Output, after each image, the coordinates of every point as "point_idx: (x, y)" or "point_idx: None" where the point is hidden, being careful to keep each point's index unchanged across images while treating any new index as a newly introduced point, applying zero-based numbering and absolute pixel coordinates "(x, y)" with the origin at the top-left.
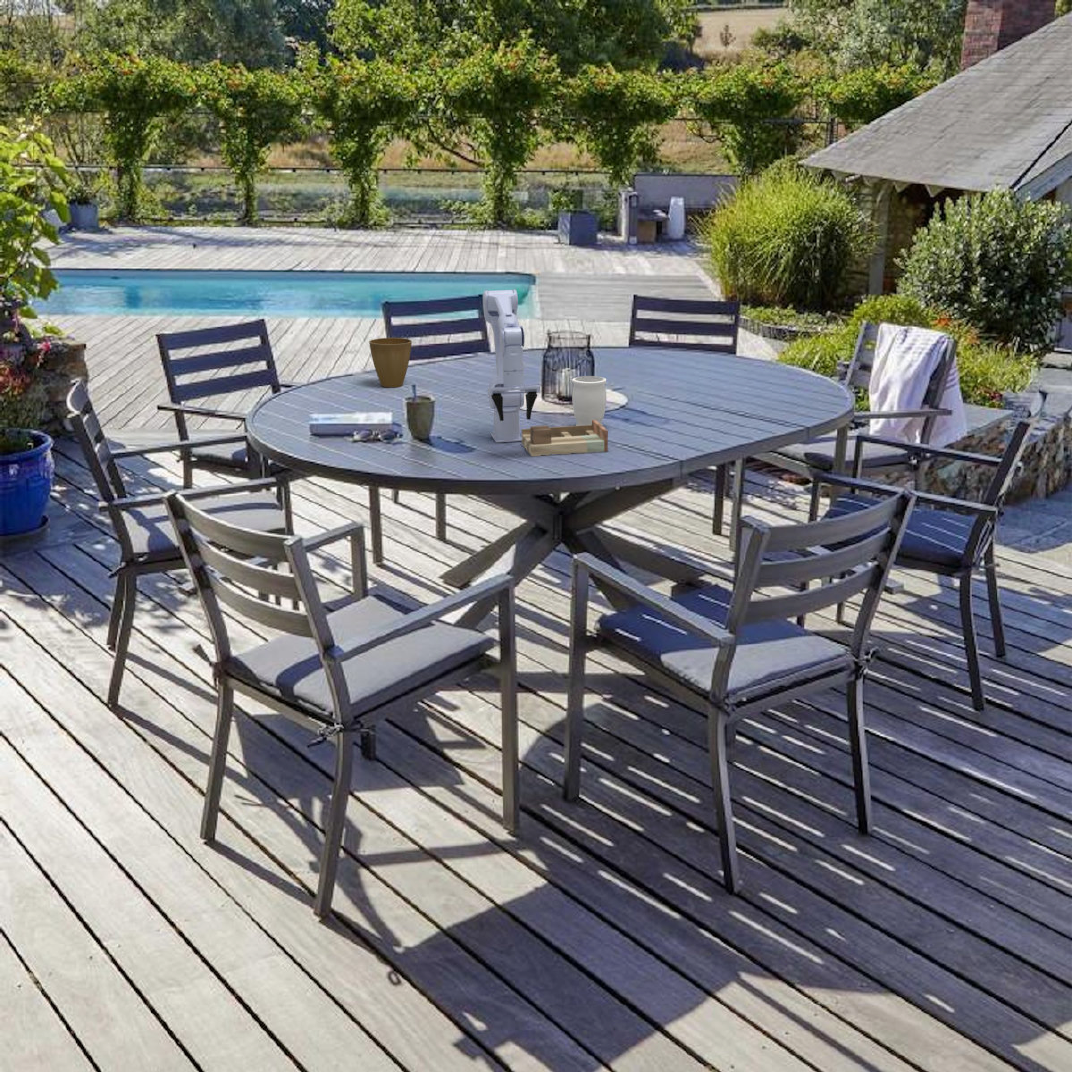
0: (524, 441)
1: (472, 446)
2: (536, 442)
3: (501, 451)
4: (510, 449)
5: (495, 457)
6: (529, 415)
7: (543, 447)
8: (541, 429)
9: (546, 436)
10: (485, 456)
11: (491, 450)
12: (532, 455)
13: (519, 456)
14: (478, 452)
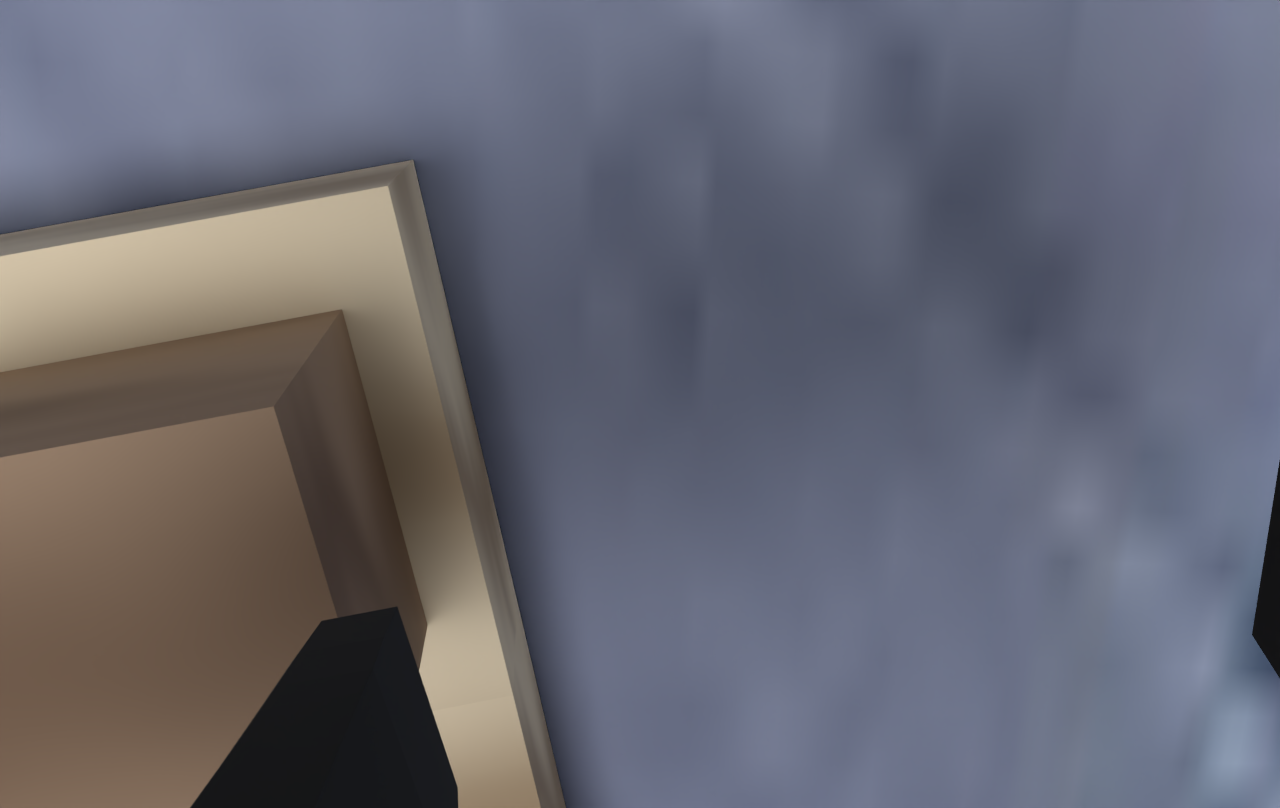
0: (539, 756)
1: (1262, 767)
2: (281, 328)
3: (900, 504)
4: (756, 608)
5: (1037, 145)
6: (315, 691)
7: (148, 223)
8: (67, 515)
9: (6, 411)
10: (1184, 222)
11: (1040, 564)
12: (398, 165)
13: (631, 182)
14: (1244, 464)
